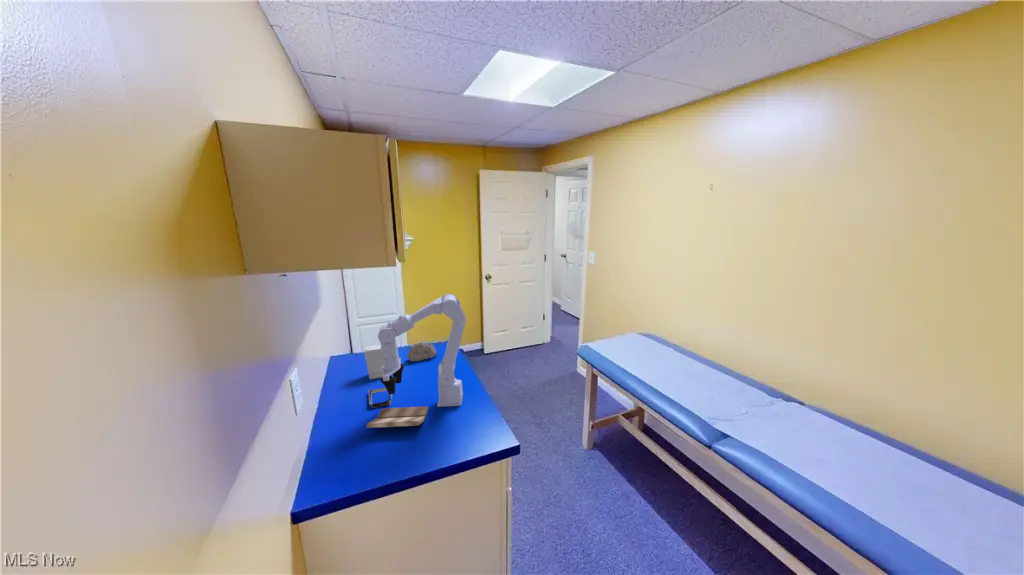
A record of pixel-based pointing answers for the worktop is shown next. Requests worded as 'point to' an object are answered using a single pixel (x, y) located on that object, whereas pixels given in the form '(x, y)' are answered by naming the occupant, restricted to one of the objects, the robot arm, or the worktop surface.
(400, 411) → the walnut strip
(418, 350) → the pumice stone
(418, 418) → the maple plank
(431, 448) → the worktop surface
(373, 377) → the skincare box
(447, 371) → the robot arm
